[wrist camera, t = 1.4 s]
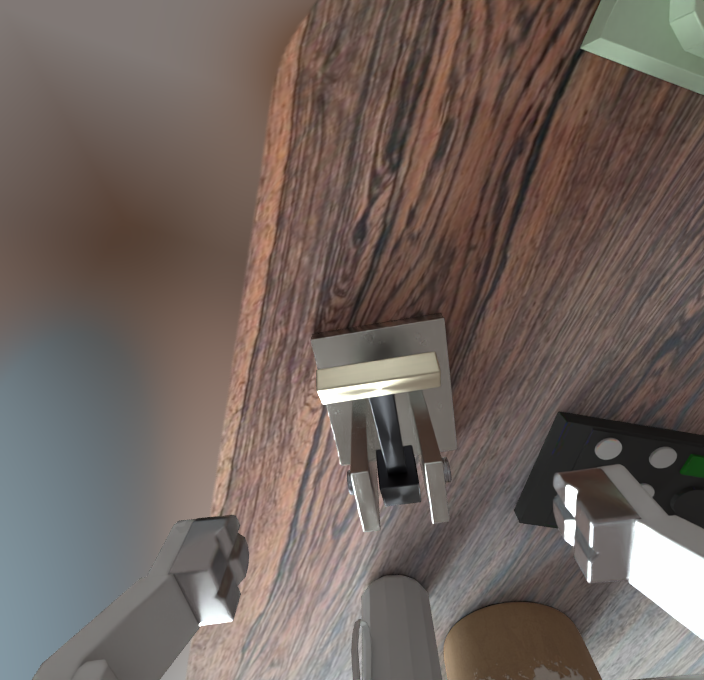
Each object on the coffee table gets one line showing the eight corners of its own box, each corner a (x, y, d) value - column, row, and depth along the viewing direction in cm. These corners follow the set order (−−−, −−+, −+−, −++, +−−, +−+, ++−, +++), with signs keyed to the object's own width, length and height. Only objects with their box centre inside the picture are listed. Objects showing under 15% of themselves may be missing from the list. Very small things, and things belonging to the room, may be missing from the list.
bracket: (312, 333, 31) (288, 422, 21) (441, 312, 31) (487, 393, 20) (341, 456, 36) (334, 581, 25) (454, 441, 35) (497, 563, 24)
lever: (315, 357, 17) (316, 404, 16) (432, 338, 17) (444, 385, 15) (359, 472, 26) (362, 509, 25) (436, 461, 26) (444, 499, 24)
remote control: (809, 554, 40) (830, 572, 38) (513, 510, 38) (521, 527, 36) (887, 465, 36) (916, 482, 34) (558, 411, 34) (569, 425, 32)
